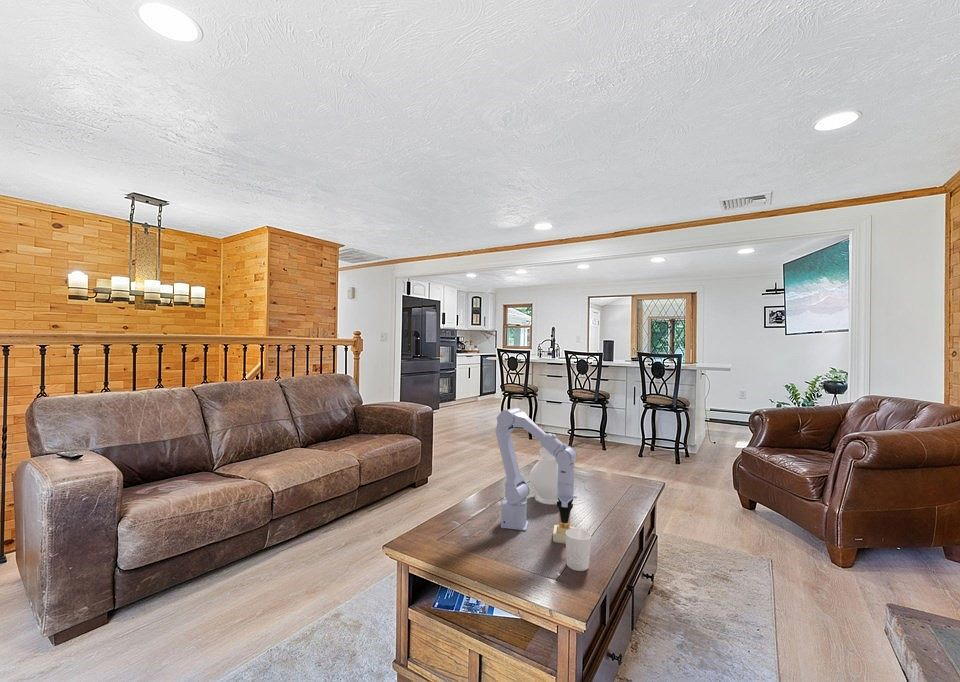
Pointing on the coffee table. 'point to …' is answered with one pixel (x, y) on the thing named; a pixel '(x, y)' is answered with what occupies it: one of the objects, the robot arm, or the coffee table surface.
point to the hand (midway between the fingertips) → (564, 520)
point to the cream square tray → (560, 534)
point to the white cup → (578, 549)
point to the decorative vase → (545, 478)
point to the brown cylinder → (564, 525)
